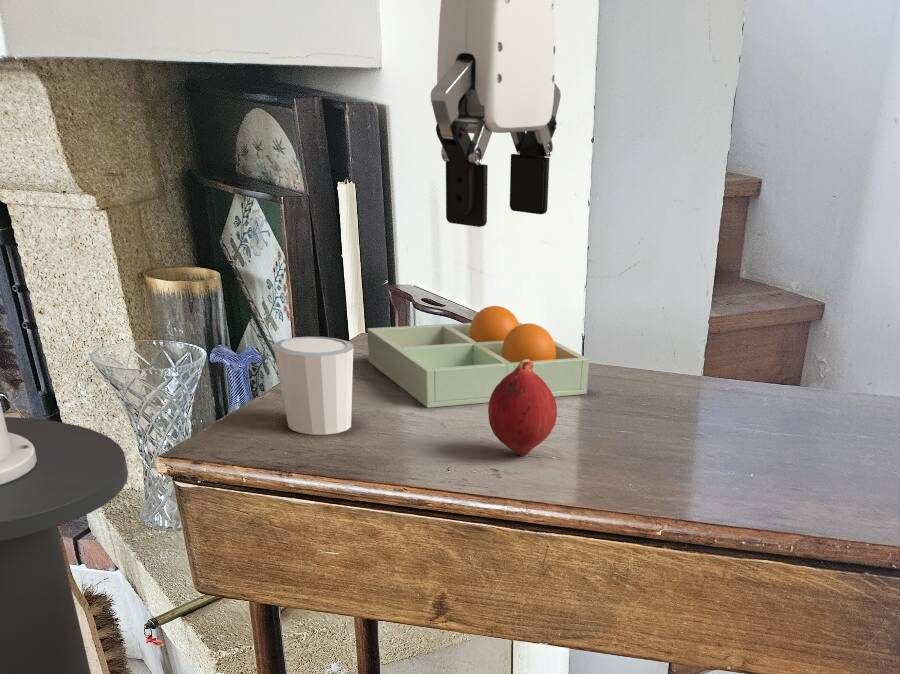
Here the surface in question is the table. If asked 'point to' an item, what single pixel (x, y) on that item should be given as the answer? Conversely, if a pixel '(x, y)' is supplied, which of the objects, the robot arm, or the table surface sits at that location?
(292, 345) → the white cup
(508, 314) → the clementine
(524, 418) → the onion
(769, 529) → the table surface
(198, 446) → the table surface
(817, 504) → the table surface
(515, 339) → the clementine
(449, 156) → the robot arm
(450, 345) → the tray
